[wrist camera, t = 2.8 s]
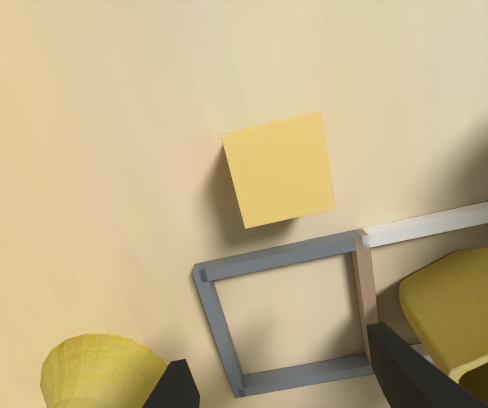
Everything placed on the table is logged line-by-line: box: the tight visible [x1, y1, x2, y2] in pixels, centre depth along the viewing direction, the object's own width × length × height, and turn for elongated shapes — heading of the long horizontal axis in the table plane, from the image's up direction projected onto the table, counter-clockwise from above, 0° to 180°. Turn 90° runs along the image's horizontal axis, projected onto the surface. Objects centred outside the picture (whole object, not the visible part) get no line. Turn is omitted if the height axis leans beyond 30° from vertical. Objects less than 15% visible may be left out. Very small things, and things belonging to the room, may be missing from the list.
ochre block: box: [222, 113, 336, 229], centre depth 16 cm, size 5×5×5 cm
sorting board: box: [192, 201, 488, 398], centre depth 21 cm, size 25×13×1 cm, turn 104°
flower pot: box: [399, 248, 488, 405], centre depth 17 cm, size 9×9×9 cm
